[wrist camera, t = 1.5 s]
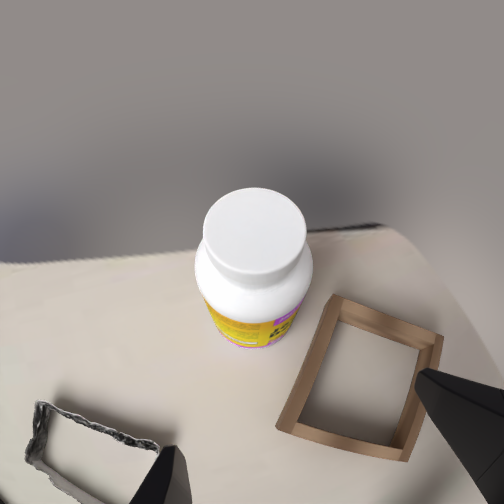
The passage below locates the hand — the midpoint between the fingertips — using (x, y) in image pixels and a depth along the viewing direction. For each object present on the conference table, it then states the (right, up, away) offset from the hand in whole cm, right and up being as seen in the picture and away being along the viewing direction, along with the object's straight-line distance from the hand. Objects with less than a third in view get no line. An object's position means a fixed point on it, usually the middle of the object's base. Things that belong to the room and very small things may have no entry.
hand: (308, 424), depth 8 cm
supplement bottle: (-2, 0, +16) cm, 16 cm away
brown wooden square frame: (+7, -5, +12) cm, 15 cm away
